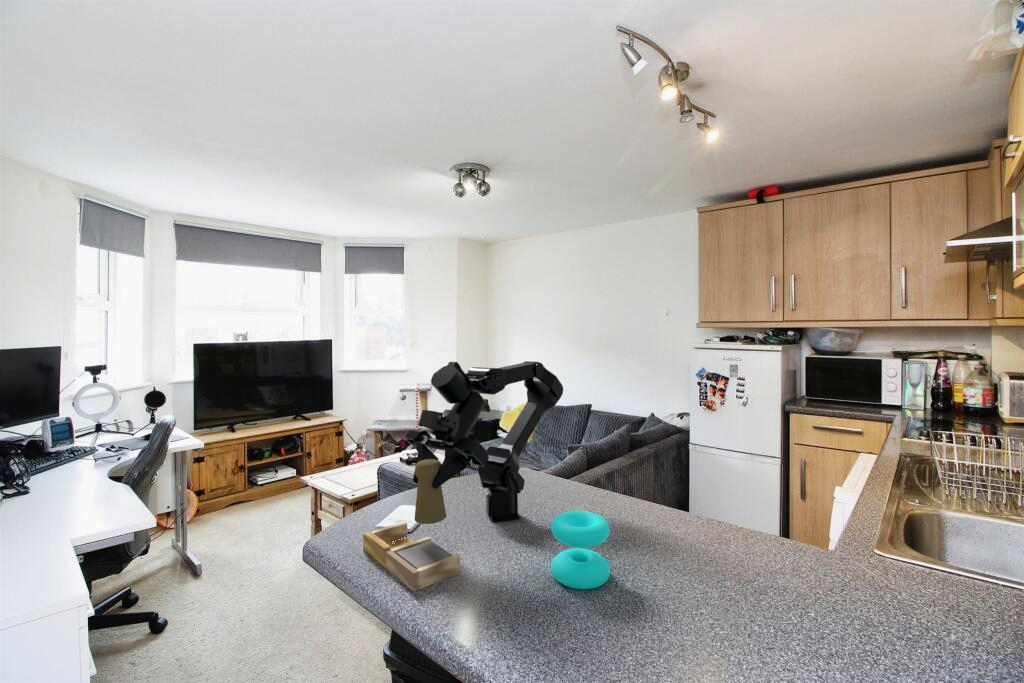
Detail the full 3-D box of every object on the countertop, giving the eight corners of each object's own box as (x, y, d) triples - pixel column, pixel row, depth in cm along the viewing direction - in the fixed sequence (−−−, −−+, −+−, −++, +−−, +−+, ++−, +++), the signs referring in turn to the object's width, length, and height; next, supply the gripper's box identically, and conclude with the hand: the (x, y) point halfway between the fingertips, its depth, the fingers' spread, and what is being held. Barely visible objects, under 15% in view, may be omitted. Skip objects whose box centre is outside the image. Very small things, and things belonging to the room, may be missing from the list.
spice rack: (405, 535, 98) (404, 519, 98) (459, 572, 82) (459, 553, 82) (362, 549, 92) (362, 531, 92) (413, 591, 76) (413, 570, 76)
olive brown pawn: (425, 509, 94) (423, 455, 94) (452, 513, 92) (450, 457, 91) (408, 521, 88) (405, 463, 88) (436, 525, 86) (433, 466, 86)
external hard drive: (432, 513, 111) (410, 535, 99) (400, 511, 113) (374, 532, 101) (432, 506, 111) (410, 528, 99) (400, 504, 113) (374, 525, 101)
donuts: (554, 506, 86) (610, 510, 84) (555, 560, 87) (610, 565, 84) (546, 528, 77) (609, 533, 74) (547, 589, 77) (609, 596, 75)
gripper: (410, 390, 98) (367, 455, 90) (476, 396, 87) (434, 471, 78) (439, 421, 105) (401, 484, 96) (504, 430, 93) (468, 503, 85)
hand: (423, 485), depth 89 cm, fingers closed on olive brown pawn, 5 cm apart
